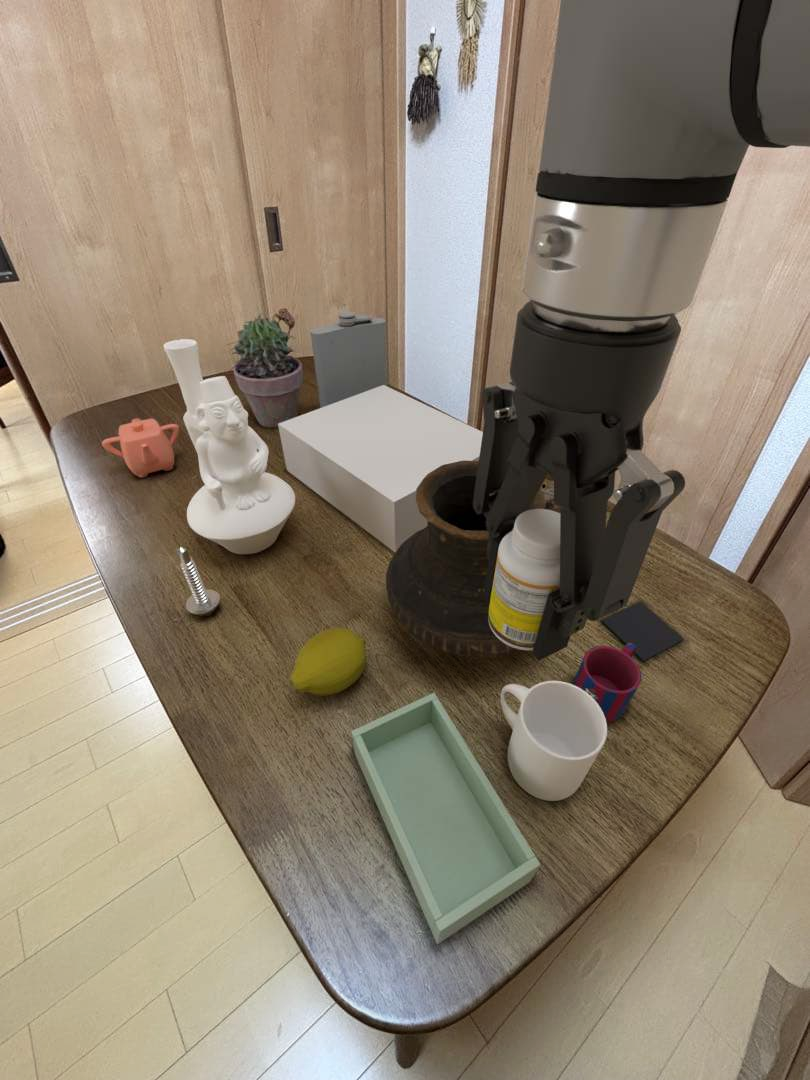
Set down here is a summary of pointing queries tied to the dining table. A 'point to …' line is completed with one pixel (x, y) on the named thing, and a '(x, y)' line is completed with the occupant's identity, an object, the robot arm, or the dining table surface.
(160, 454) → the teapot
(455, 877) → the bin
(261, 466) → the white sculpted figure
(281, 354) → the potted plant
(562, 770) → the mug
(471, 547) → the ceramic pot
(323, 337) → the flask
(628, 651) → the cup
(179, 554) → the screw
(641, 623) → the coaster
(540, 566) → the supplement bottle
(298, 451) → the box
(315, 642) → the lemon
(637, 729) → the dining table surface
